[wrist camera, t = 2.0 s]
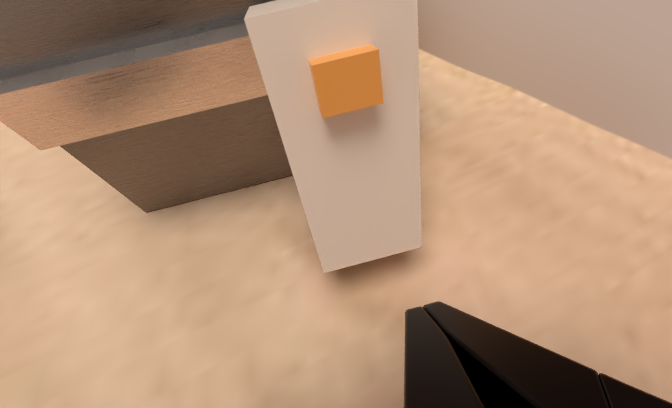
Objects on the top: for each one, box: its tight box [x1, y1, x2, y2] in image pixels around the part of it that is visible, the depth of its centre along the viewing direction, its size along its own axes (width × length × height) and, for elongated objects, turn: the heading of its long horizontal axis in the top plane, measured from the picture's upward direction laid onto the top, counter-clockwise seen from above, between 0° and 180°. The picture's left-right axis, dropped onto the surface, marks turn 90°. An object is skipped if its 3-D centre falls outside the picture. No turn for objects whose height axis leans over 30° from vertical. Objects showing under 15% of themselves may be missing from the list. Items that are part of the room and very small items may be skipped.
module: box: [244, 0, 422, 273], centre depth 13 cm, size 5×5×11 cm
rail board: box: [0, 0, 293, 213], centre depth 17 cm, size 6×18×16 cm, turn 104°
